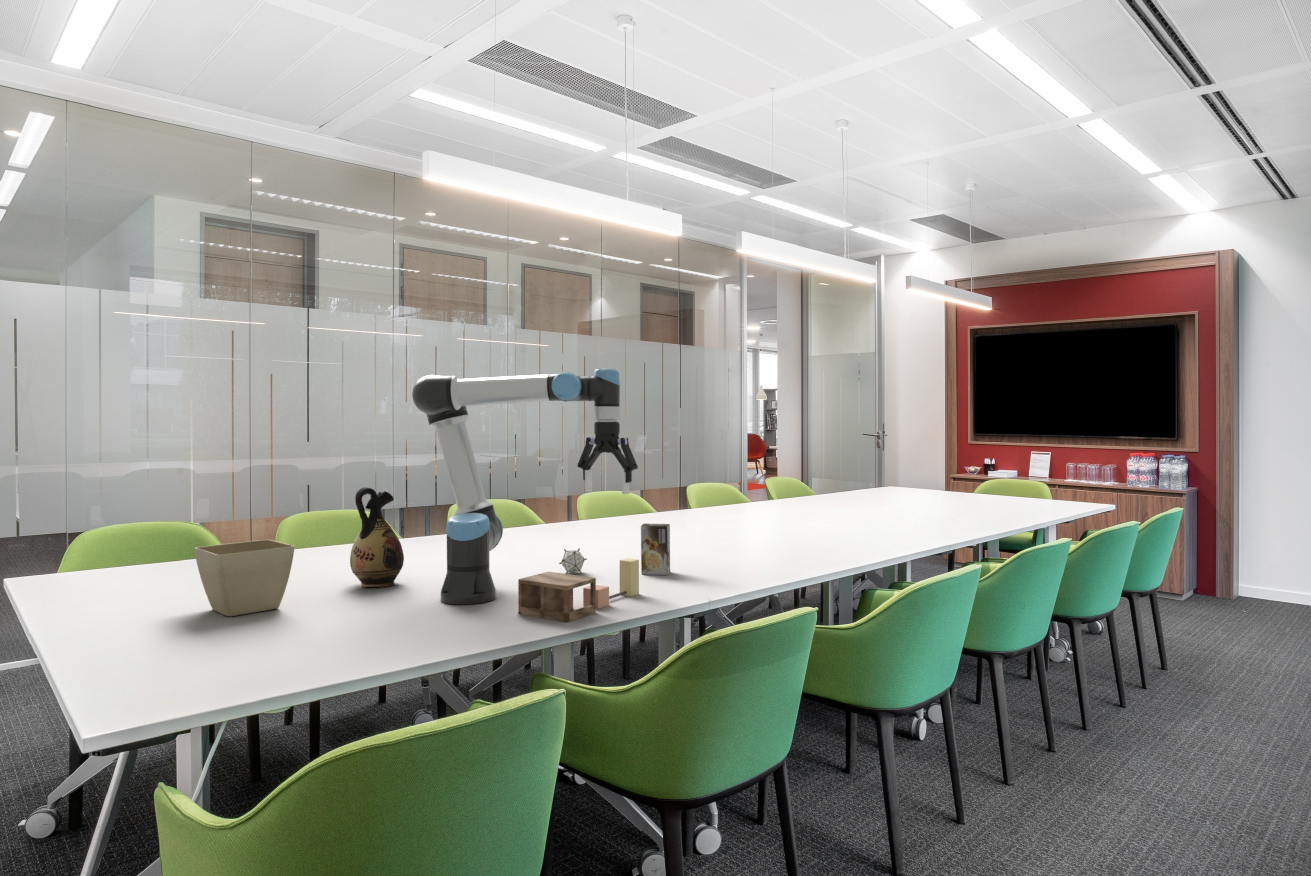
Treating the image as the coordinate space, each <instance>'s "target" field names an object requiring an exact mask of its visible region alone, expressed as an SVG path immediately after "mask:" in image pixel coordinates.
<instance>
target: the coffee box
mask: <svg viewBox="0 0 1311 876" xmlns="http://www.w3.org/2000/svg"><path fill="white" fill-rule="evenodd" d="M670 527H671V524H670V523H642V524H641V525H640V557H641V558H640V562H641V563H640V565H641V566H640V567H641V568H640V570H641V575H648V576H649V575H653V576H654V575H655V576H656V575H657V576H669V575H670V573H671V537H670V536H671V533H670V532H671V530H670V529H671V528H670Z"/></svg>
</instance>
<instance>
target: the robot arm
mask: <svg viewBox="0 0 1311 876" xmlns="http://www.w3.org/2000/svg"><path fill="white" fill-rule="evenodd" d="M620 390H621V383H620V372H619V371H618V370H617V369H614V368H597V369H594V372H593V375H576V374H574V373H573V372H570V371H569V372H568V371H565V372H563V371H562V372H560V373H551V374H548V373H547V374H546V373H545V374H543V373H542V374H530V375H526V374H525V375H510V376H509V375H507V376H493V377H492V376H491V377H476V378H475V377H474V378H471V377H470V378H459V377H458V376H457V375H438V374H428V375H425V376H422V377H421V378H419V379H418V380H417V381H416V383H415V385H414V386H413V388H412V395H411V396H412V401H413V404H414V406H415V407H416V408H417V409H418V410H419V411H420V412H421V413H424V414H425V415H426V417H427V421H428V425H429V427H431V428H432V429H434V430H435V431H436V433H437V438H438V440H439V445H440V447H441V451H442V456H443V460H444V463H445V466H446V467H445V468H446V469H447V473H448V478H449V481H450V485H451V488H452V491H453V495H454V500H455V502H456V506H457V508H456V510H455V512H454V513H453V516H451V517H449V518H448V520H447V522H446V528H445V530H446V531H445V533H446V575H445V578H444V580H443V584H442V587H441V590H440V601H441V602H442V603H444V604H449V605H476V604H482V603H488V602H490V601H493V600H495V599H496V598H497V590H496V586H495V583H494V579H493V577H492V574H491V570H490V552H492V550H494V549H495V548H496V547H497V546H498V545H499V544H500V542H501V539H502V538H503V534H504V526H503V524H502V521H501V519H500V518H499V517H498V515H497V514H496V510H495V507H494V504H493V503H492V502H491V501H489V500H488V499H487V497H486V494H485V491H484V486H483V484H482V480H481V477H480V472H479V470H478V466H477V462H476V458H475V454H474V450H473V448H472V447H473V446H472V444H471V440H470V436H469V433H468V432H469V431H468V429H467V425H466V421H467V420H468V418H469V414H468V409H467V407H469V406H483V405H484V406H485V405H486V406H487V405H502V404H518V403H519V404H521V403H535V402H537V403H538V402H554V401H555V402H565V403H566V402H594V405H593V406H594V407H593V408H594V409H593V420H594V421H596V422H594V425H593V427H594V429H593V430H594V435H595V436H594V437H593V436H590V437H586V439H585V445H584V447H583V451H582V453H581V455H580V457H579V460H578V463H577V466H576V467H577V468H579V469H582V479H583V481H584V492H585V493H588V492H589V493H591V492H593V469H592V466H593V465H594V464H595V463H596V461H597V460H598V458H599V456H600V455H601V454H604V453H607V454H608V453H609V454H610V453H611V454H612V455H613V456H614V457H615V459H616V460H617V462H618V463H619V464H620V466H621V467H622V469H623V471H622V473H621V478H622V479H621V480H622V481H621V482H622V483H621V486H622V487H621V488H622V489H621V493H622V495H627V494H628V495H630V493H631V492H630V491H631V490H630V489H631V488H630V485H631V484H630V483H632V481H633V479H632V478H633V477H632V474H633V473H632V472H633V471H634V470H638V464H637V461H636V459H635V457H634V454H633V452H632V450H631V447H630V443H629V438H628V437H619V435H620V432H621V431H620V427H621V425H620V422H619V420H620V414H621V413H620V409H621V408H620V398H621V397H620V396H621V395H620V394H621V392H620ZM594 445H595V447H594ZM619 445H620V447H621V448H620V447H619ZM622 452H623V453H622Z"/></svg>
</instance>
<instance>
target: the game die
mask: <svg viewBox="0 0 1311 876" xmlns="http://www.w3.org/2000/svg"><path fill="white" fill-rule="evenodd" d="M580 550H581V549H580V547H579V548H578V550H577V549H576V550H572V549H571V550H566V549H565V548H564V549H563V551H564V554H563V557H562V560H561V561H560V562H559V563H558V564H559V565H562V567H563V568H564V570H565V572H566V573H565V574H569V573H580V574H581V573H583V572H582V569H583V565H584V563H585V561H587V560H588V558H584V556H583V554H582V553H581V551H580Z"/></svg>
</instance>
